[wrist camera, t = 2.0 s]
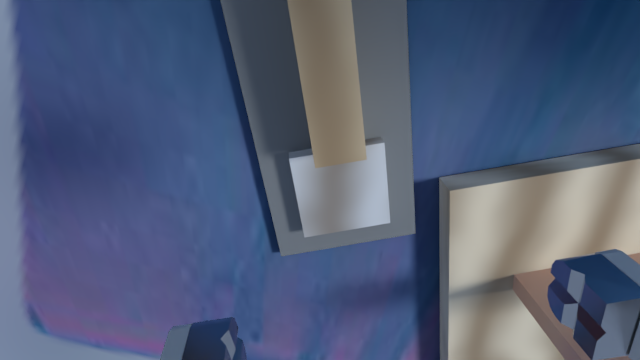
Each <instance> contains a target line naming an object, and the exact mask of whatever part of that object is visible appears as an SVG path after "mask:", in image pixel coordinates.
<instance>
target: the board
mask: <svg viewBox="0 0 640 360" xmlns="http://www.w3.org/2000/svg"><path fill="white" fill-rule="evenodd" d="M612 249H617V250H620V251H622V252H624V253H625V254H627V255H630V254H636V253H640V144H634V145H628V146H622V147H617V148H611V149H605V150H599V151H593V152H587V153H581V154H575V155H569V156H563V157H557V158H551V159H545V160H539V161H534V162H528V163H522V164H516V165H510V166H504V167H498V168H492V169H486V170H480V171H474V172H468V173H462V174H456V175H451V176H445V177H439V255H440V360H565V359H564V358H563V356H562V355H561V354H560V352H559V351H558V350H557V348H556V347H555V346H554V344H553V343H552V342H551V340H550V339H549V338H548V336H547V335H546V334H545V332H544V331H543V330H542V328H541V327H540V326H539V324H538V323H537V322H536V320H535V319H534V317H533V316H532V315H531V313H530V312H529V311H528V309H527V308H526V307H525V305H524V304H523V303H522V301H521V300H520V299H519V297H518V296H517V295H516V293H515V292H514V291H513V280H514V274H520V273H526V272H531V271H537V270H543V269H549V268H551V267H552V264H553V263H554V261H555V260H559V259H564V258H569V257H575V256H580V255H586V254H591V253H596V252H601V251H606V250H612Z"/></svg>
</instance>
